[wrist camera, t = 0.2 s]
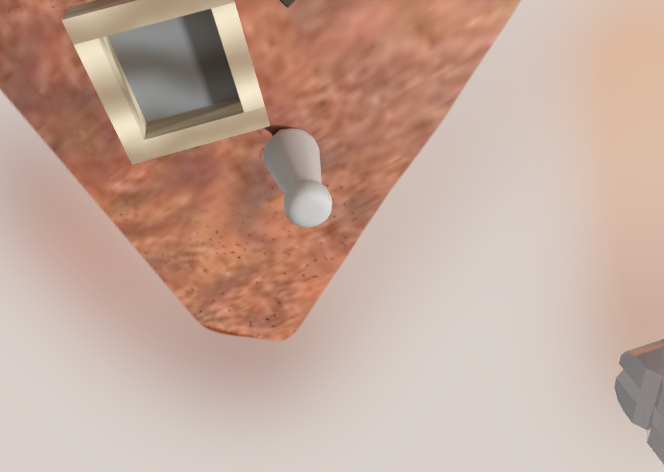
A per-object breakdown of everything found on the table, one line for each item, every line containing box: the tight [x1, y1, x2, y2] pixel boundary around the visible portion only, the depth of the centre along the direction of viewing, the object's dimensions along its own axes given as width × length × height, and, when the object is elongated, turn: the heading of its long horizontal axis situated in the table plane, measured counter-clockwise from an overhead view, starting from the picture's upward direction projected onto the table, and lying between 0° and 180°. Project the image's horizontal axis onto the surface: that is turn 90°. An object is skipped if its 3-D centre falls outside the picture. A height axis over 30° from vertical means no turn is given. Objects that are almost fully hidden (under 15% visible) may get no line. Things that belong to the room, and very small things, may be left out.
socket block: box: [62, 0, 270, 164], centre depth 50 cm, size 14×14×4 cm
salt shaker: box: [264, 128, 332, 228], centre depth 53 cm, size 6×6×13 cm
